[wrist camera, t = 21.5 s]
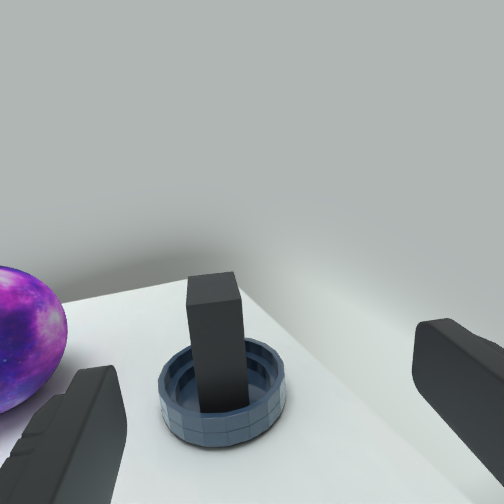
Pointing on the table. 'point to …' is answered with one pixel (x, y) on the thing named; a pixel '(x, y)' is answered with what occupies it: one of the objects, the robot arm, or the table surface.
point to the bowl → (230, 423)
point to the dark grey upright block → (217, 342)
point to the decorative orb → (27, 335)
